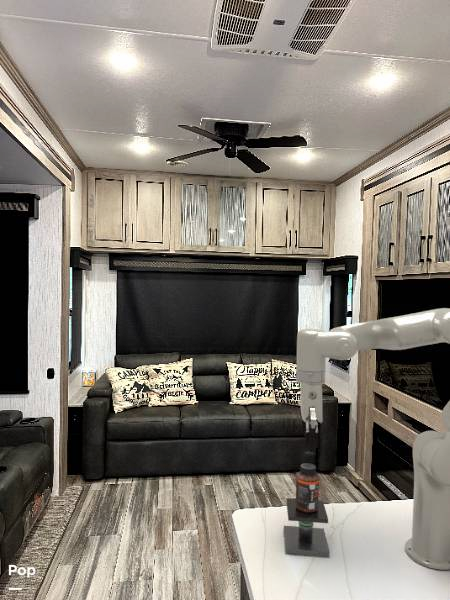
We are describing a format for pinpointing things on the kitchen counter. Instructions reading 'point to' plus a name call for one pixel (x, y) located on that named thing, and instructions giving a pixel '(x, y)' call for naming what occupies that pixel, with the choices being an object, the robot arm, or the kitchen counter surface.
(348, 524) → the kitchen counter surface
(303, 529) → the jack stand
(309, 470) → the supplement bottle
